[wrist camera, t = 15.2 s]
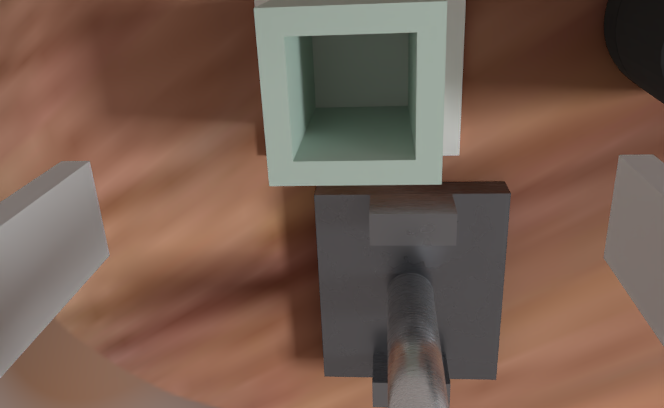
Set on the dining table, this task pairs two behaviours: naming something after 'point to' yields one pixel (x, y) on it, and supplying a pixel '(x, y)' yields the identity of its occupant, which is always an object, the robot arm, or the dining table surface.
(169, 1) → the dining table surface
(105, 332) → the dining table surface
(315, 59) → the mat
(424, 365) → the block with threaded rod
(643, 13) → the pen holder
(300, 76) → the sleeve
